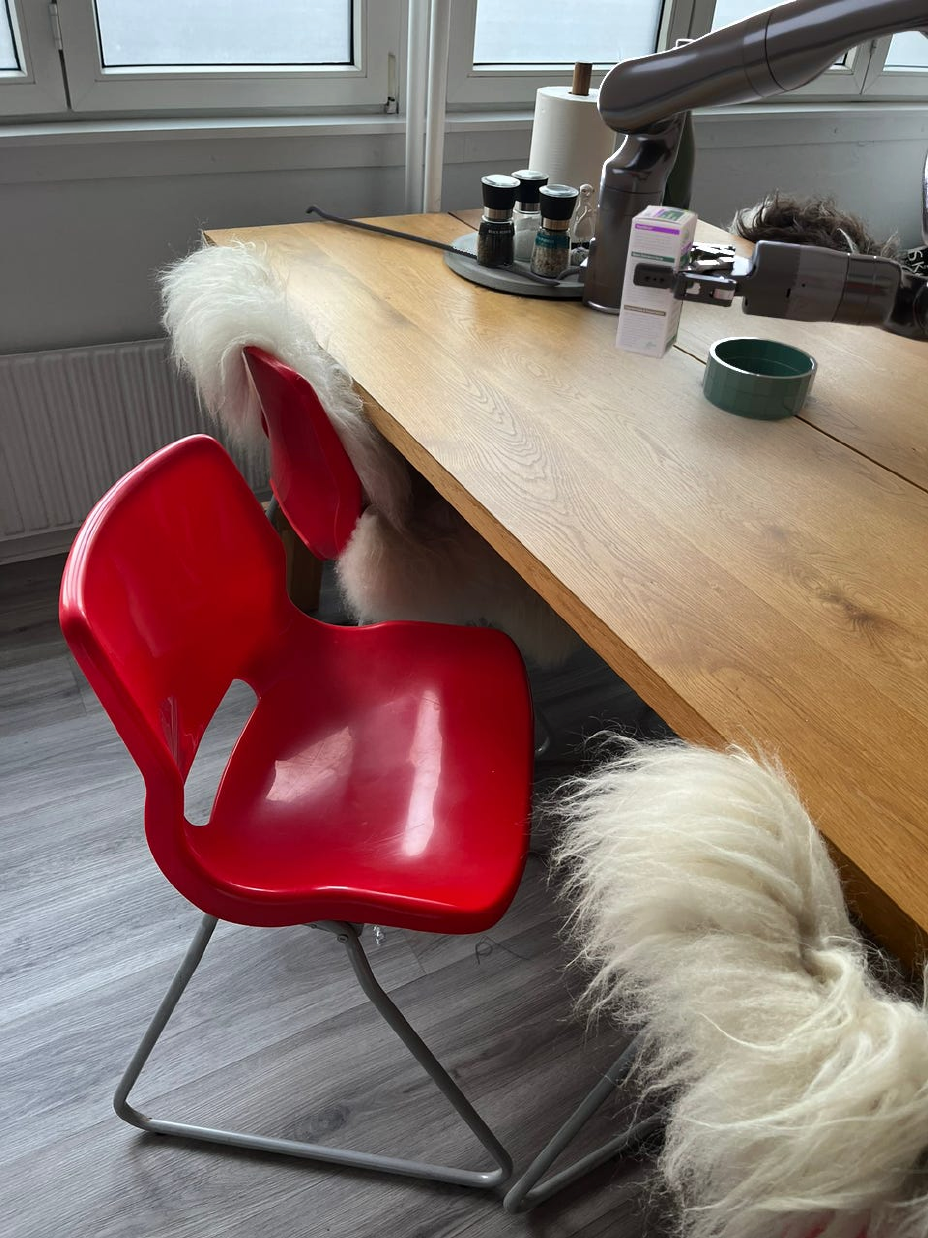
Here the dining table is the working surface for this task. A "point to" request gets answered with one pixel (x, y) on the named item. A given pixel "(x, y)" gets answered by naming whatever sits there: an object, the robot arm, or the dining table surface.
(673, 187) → the beer bottle
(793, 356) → the crock
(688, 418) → the dining table surface
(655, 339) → the syrup box
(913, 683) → the dining table surface
